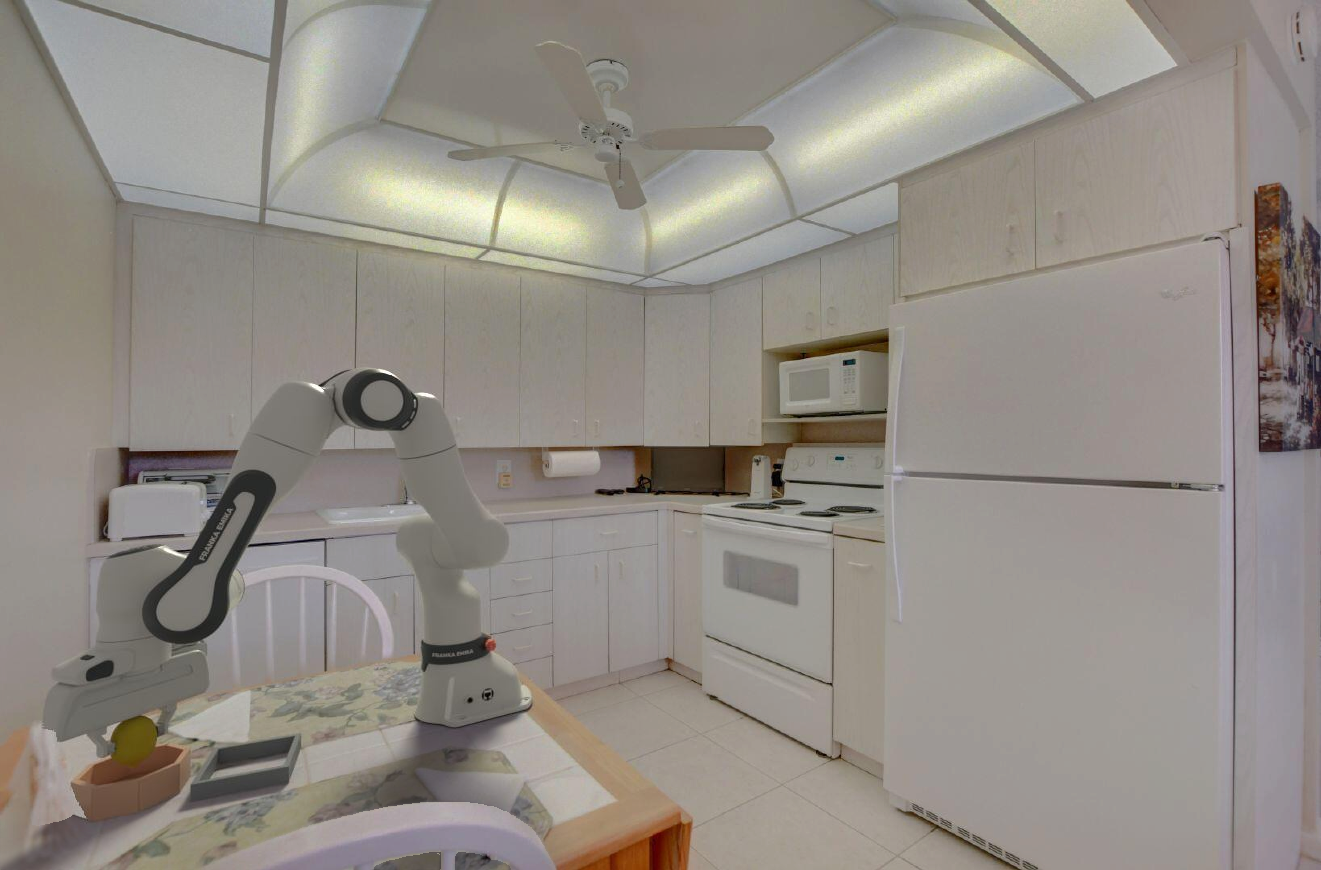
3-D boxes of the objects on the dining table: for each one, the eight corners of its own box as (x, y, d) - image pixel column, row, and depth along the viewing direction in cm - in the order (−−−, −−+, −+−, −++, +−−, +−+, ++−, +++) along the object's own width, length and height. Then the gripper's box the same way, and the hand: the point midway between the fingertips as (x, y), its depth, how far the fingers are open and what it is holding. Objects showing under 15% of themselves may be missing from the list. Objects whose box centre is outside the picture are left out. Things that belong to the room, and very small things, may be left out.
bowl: (197, 765, 101) (197, 737, 101) (170, 805, 89) (171, 774, 90) (99, 782, 96) (99, 753, 96) (56, 828, 84) (57, 794, 85)
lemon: (129, 778, 90) (129, 722, 90) (99, 775, 91) (99, 720, 91) (166, 759, 95) (166, 707, 95) (137, 757, 96) (137, 705, 96)
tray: (301, 747, 107) (301, 732, 107) (288, 782, 95) (288, 766, 95) (214, 762, 102) (214, 747, 102) (190, 801, 90) (190, 784, 91)
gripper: (194, 632, 104) (194, 714, 104) (36, 672, 85) (34, 773, 85) (219, 635, 102) (218, 720, 101) (62, 678, 83) (60, 781, 82)
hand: (133, 744), depth 93 cm, fingers closed on lemon, 6 cm apart
